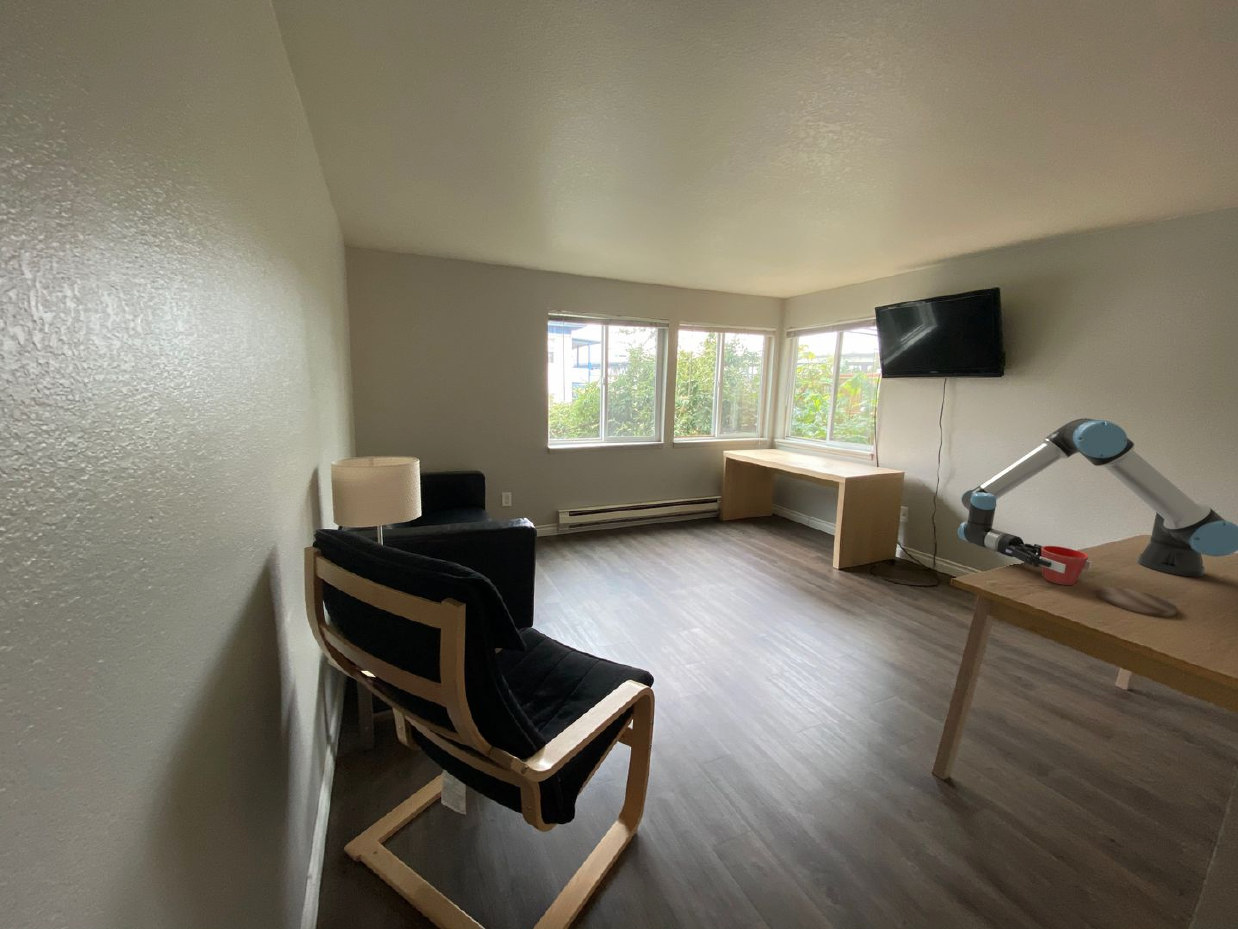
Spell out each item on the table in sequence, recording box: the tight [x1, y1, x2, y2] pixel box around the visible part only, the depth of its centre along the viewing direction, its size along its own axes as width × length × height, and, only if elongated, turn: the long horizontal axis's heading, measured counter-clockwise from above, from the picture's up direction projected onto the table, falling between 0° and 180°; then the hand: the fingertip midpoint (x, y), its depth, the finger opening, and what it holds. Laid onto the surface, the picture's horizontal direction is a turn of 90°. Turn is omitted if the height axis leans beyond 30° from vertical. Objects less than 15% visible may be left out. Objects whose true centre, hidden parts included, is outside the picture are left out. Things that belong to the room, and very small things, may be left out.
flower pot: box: [1041, 545, 1089, 586], centre depth 152 cm, size 11×11×10 cm
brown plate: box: [1095, 585, 1178, 618], centre depth 139 cm, size 16×16×2 cm
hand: (1077, 567), depth 148 cm, fingers closed on flower pot, 10 cm apart
